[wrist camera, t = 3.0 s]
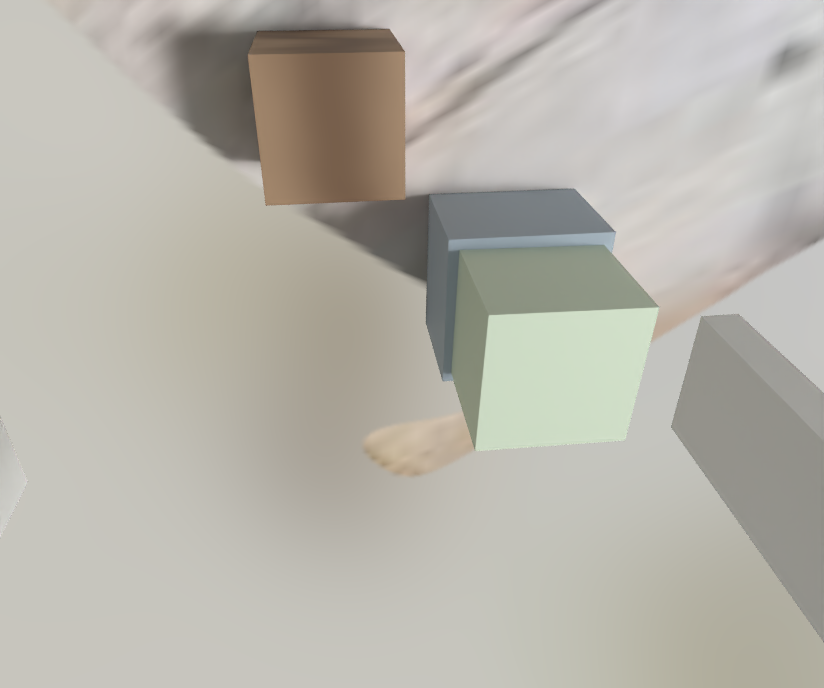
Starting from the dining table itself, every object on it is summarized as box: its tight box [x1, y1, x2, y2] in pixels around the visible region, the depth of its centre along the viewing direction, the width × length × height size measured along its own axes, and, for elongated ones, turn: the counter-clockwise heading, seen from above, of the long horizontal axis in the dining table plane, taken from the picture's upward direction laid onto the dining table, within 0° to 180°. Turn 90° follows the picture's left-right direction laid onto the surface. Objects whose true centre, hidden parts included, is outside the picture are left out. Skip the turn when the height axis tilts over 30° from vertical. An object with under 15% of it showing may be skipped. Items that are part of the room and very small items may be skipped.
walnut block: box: [248, 29, 405, 206], centre depth 30 cm, size 6×6×6 cm
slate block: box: [426, 189, 616, 381], centre depth 36 cm, size 8×8×6 cm
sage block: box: [451, 245, 659, 451], centre depth 31 cm, size 7×7×6 cm
